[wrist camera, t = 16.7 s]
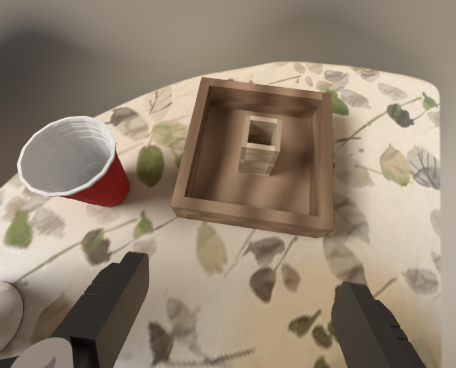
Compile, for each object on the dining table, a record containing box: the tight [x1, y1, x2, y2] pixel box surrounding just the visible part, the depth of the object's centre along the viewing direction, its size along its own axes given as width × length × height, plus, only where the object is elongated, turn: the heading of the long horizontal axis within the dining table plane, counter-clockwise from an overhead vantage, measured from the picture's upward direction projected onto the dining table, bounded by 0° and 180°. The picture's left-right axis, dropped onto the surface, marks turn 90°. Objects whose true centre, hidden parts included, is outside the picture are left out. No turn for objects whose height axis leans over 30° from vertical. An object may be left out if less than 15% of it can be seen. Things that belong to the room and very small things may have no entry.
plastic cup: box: [17, 116, 129, 207], centre depth 33 cm, size 11×11×12 cm
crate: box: [170, 77, 333, 238], centre depth 38 cm, size 21×22×6 cm
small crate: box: [238, 115, 282, 176], centre depth 36 cm, size 5×5×8 cm
